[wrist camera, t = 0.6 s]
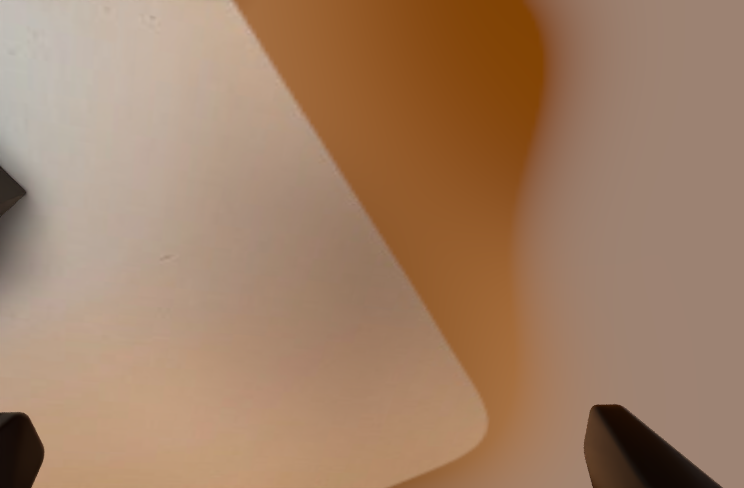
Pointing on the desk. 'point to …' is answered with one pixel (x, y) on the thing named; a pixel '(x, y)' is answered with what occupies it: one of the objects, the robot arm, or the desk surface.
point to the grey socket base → (8, 192)
